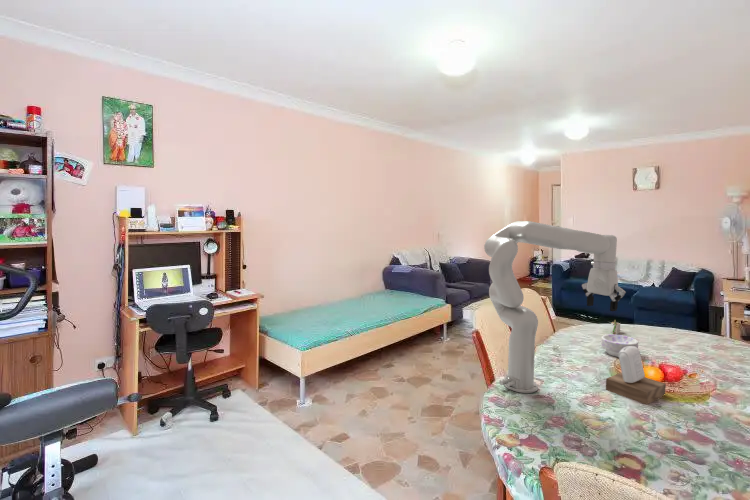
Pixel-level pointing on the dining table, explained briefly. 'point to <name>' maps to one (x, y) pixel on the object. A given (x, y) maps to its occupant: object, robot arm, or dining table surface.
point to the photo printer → (631, 364)
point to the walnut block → (636, 388)
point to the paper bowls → (617, 343)
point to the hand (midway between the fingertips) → (601, 308)
